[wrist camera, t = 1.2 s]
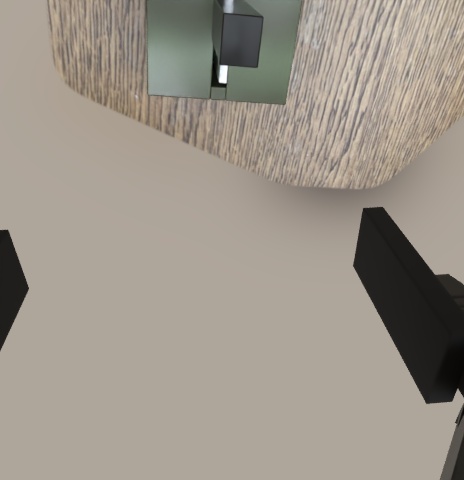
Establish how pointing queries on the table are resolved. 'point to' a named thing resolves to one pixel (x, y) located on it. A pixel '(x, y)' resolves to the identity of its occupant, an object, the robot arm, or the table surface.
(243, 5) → the black-handled knife
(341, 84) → the table surface
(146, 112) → the table surface
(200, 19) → the knife block
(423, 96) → the table surface
